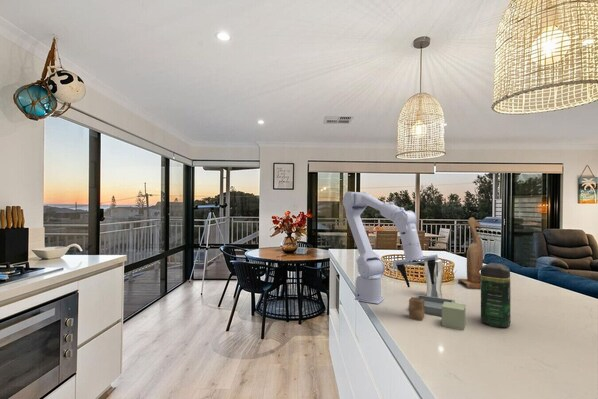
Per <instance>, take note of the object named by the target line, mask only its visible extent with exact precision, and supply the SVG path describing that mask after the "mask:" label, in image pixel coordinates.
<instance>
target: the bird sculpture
mask: <svg viewBox="0 0 598 399" xmlns="http://www.w3.org/2000/svg"><path fill="white" fill-rule="evenodd" d="M467 224H468V227H469V229H470V232H471V236H472V243H471V244H470V245H469V246H468V248H467V251H466V278H464V279H463V278H458V279H457V284H465V285H466V288H467V289H468V290H469V289H473V290H475V289H476V290H481V267H482V266H484V258H483V256H484V254H483V253H484V252H483V245H482V241H481V238H480V236H479V233H478V232H477V229H479V230H480V229H482V224H481V222H479V221H477V220H476V219H475V217H473V216H471V217H470V218H468V219H467Z"/></svg>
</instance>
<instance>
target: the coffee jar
mask: <svg viewBox="0 0 598 399" xmlns="http://www.w3.org/2000/svg"><path fill="white" fill-rule="evenodd" d="M480 274H481V288H480V321H481V322H482V323H483V324H487V325H489V326H490V327H496V328H498V327H500V328H507V327H509V326H510V324H511V304H512V303H511V302H512V301H511V299H512V298H511V297H512V296H511V289H512V288H511V270H510V268H509V266H506V265H505V264H503V263H499V262H498V263H497V262H489V263H487V264H483V266H482V267H481V270H480Z"/></svg>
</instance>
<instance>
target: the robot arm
mask: <svg viewBox="0 0 598 399" xmlns="http://www.w3.org/2000/svg"><path fill="white" fill-rule="evenodd" d="M341 202H342V204H343V208H344V210H345V217H346V220H347V223H348V226H349V228H350V231H351V234H352V237H353V240H354V242H355V246H356V248H357V251H358V254H359V256H358V257H357V259H356V264H357V272H358V274H359V275H357V277H356V278H355V282H354V283H355V285H354V286H355V293H354V294H355V298H354V300H355V301H358V302H365V303H370V304H376V305H379V304H380V303H382V301H383V300H385V297H383V296H382V277H383V274H384V273H385V270H386V266H385V263H384V262H383V260H382V259H381V257H380V255H379V254H377V252H375V251H374V250H373V248H372V245H371V243H370V242H371V241H370V239H369V236H368V235H367V231H366V229H365V226H364V223H363V221H362V219H361V216H362V215H361V214H362V213H364V211H365V209H366V208H367V206H369V207H371V208H373V209H375V210H376V211H379V214H380V216H382V217H384V218H386V219H387V220H389V221H390V222H392V223H393V224H394V226H395V227H396V228H397V231H398V232H399V236H400V239H401V244H402V249H403V254H404V258H405V259H403V258H402V259H398V260H392V267H393V268H394V267H396V269H397V270H398V271H399V273H400V274H401V276H402V277H403V279H404V282H405V283H406V286H407V288H411V286H410V280H409V279H408V275H407V270H406V266H407V265H414V264H420V263H425V262H427V265H428V269H429V273H430V278H431V283H432V284H434V269H435V264H436V260H438V259H439V256H438V254H437V253H436V254H430V255H424V254H423V251H422V246H421V243H420V238H419V234H418V229H417V223H418V216H417V213H415V212H414V211H413V210H405V208H404V207H401V206H398V205H395V202H393V201H386V202H383V201H381V199H378V198H376V197H374V196H373V195H371V193H367V192H366V191H363V192H362V191H360V192H359V191H347V192H345V193H344V195H343V198H342V201H341ZM419 260H420V261H419ZM412 261H413V262H412Z"/></svg>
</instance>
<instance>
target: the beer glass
mask: <svg viewBox="0 0 598 399" xmlns="http://www.w3.org/2000/svg"><path fill="white" fill-rule="evenodd" d="M424 277H425V282H426V294H425V296H430V297H437V298H443V292H442V284H443V279H444V263H443V260H442V259H440V258H438V260H436V264H435V269H434V284H432V283H431V278H430V273H429V269H428V265H427V262H424Z"/></svg>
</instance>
